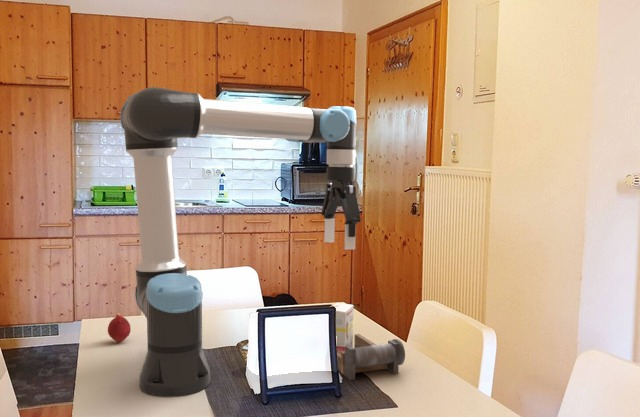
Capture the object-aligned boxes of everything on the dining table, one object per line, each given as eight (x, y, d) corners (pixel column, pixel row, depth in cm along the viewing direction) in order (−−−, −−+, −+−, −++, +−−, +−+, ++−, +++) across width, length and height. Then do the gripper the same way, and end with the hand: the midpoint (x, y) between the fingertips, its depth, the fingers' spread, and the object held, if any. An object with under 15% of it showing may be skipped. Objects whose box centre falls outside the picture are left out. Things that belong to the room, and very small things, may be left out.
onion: (134, 339, 165) (133, 310, 164) (125, 346, 159) (124, 316, 159) (113, 338, 166) (113, 310, 165) (104, 345, 160) (103, 315, 159)
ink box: (345, 358, 152) (345, 311, 151) (326, 355, 153) (326, 309, 152) (353, 347, 160) (354, 303, 159) (335, 345, 161) (336, 302, 160)
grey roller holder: (353, 382, 135) (353, 349, 135) (314, 352, 156) (315, 323, 155) (404, 374, 140) (405, 343, 140) (361, 346, 161) (361, 318, 161)
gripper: (375, 167, 151) (372, 252, 152) (335, 165, 174) (333, 239, 175) (347, 166, 148) (345, 253, 150) (310, 165, 171) (309, 239, 173)
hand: (339, 245), depth 162 cm, fingers open, 13 cm apart
